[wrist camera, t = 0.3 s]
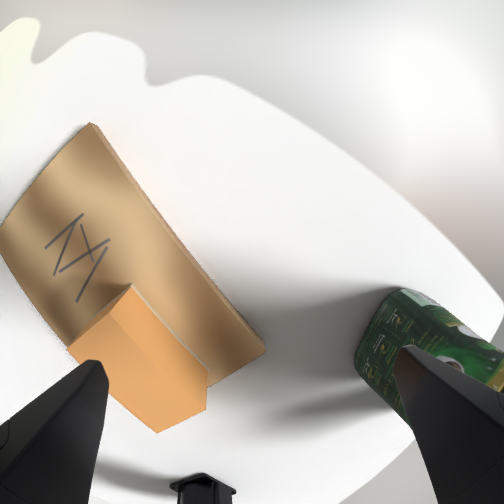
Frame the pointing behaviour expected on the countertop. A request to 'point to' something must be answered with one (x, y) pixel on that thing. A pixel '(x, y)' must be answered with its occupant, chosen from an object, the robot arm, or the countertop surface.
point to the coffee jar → (422, 345)
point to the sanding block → (144, 361)
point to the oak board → (114, 256)
